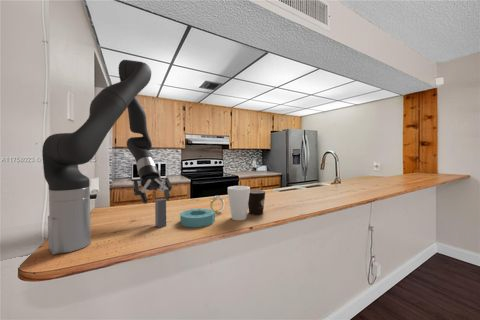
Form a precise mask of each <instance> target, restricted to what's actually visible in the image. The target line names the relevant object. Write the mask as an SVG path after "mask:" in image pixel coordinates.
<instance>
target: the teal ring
mask: <svg viewBox="0 0 480 320" xmlns="http://www.w3.org/2000/svg"><path fill="white" fill-rule="evenodd" d="M213 210H214V209H213ZM213 210H211V208H210V209H209V208H192V209H187V210H183V211H182V212H181V213H180V214H179V215H180V217H179V219H180V221H179V222H180V225H181V226H183V227H186V228H201V227H202V226H203V227H207V226H210V225H213V224H214V222H216V217H215V216H216V215H215V214H216V212H214V211H215V210H214V211H213Z"/></svg>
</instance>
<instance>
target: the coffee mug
mask: <svg viewBox="0 0 480 320" xmlns="http://www.w3.org/2000/svg"><path fill="white" fill-rule="evenodd" d="M265 197H266V191H265V190H262V189H250V194H249V201H248V214H249V215H252V216H261V215H263V214H264V208H265V199H266V198H265Z"/></svg>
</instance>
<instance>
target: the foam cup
mask: <svg viewBox="0 0 480 320" xmlns="http://www.w3.org/2000/svg"><path fill="white" fill-rule="evenodd" d="M250 190H251V187H250V186H247V185H233V186H232V185H231V186H228V187H227V194H228V203H229V209H230V215H231V216H230V217H231V219H232V220H234V221H244V220H246V219H247V216H248V210H249V208H248V201H249V194H250Z"/></svg>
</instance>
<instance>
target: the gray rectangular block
mask: <svg viewBox="0 0 480 320" xmlns="http://www.w3.org/2000/svg"><path fill="white" fill-rule="evenodd" d="M154 205H155V206H154V213H155V215H154V217H155V222H154V223H155V227H156V228H157V229H158V228H160V229H161V228H163V227H164V228H165V227H167V200H166V198H156V199H155V200H154Z"/></svg>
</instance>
